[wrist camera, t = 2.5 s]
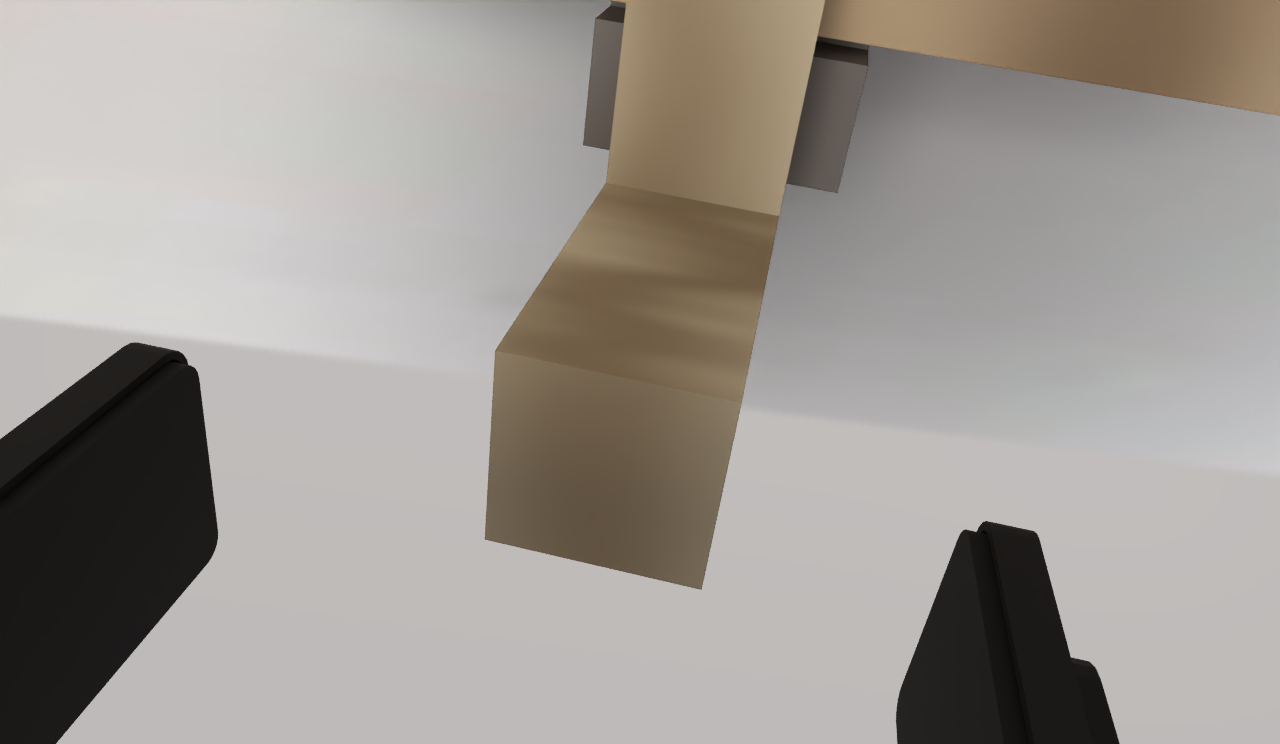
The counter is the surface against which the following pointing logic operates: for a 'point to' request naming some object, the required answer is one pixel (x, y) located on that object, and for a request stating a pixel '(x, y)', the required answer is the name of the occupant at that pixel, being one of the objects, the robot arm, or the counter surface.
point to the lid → (1089, 41)
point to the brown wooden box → (821, 117)
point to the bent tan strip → (654, 297)
